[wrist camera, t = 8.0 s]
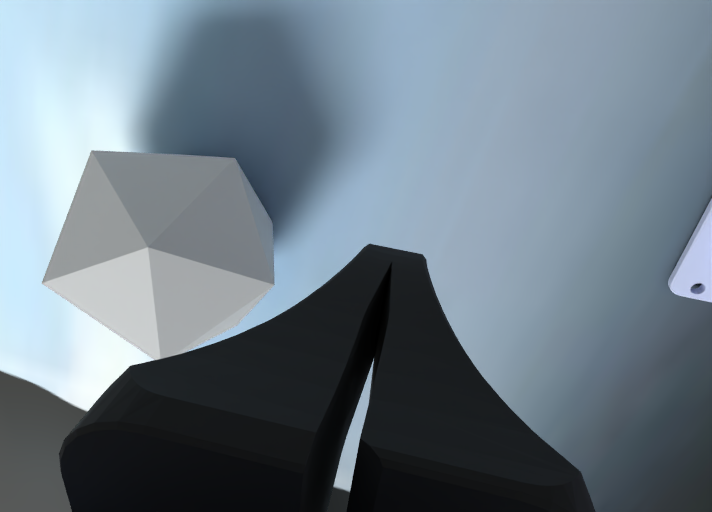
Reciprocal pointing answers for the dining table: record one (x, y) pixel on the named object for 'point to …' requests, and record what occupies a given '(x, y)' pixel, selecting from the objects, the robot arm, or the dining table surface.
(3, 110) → the dining table surface
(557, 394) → the dining table surface
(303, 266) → the dining table surface
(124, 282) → the die
